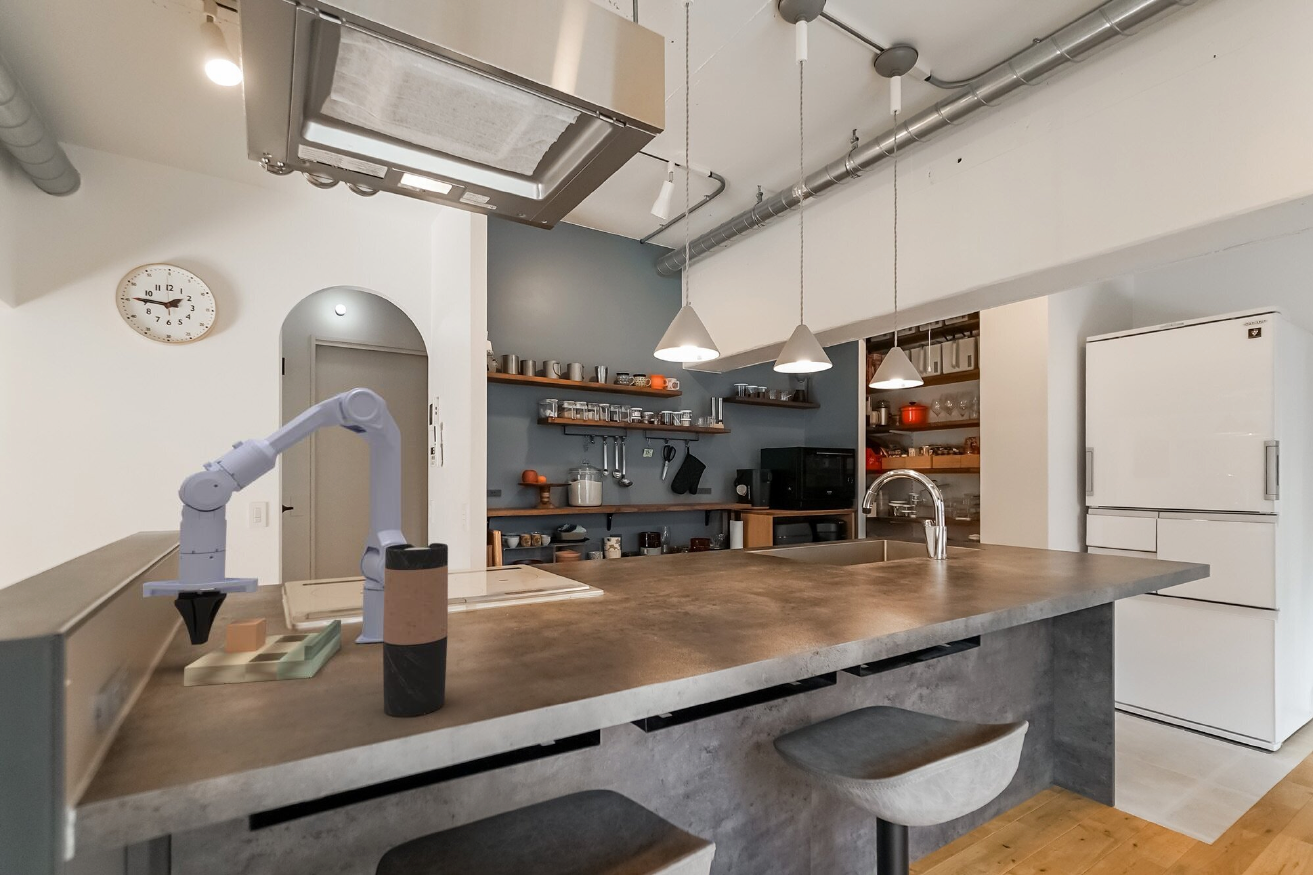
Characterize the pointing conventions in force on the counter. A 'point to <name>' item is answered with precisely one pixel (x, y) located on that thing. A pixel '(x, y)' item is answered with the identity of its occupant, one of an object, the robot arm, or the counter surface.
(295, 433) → the robot arm
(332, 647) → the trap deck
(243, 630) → the block
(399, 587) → the travel mug
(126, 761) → the counter surface
